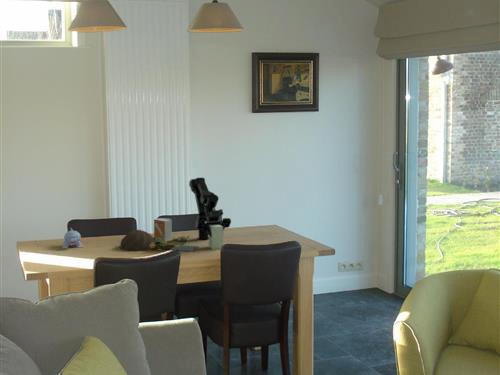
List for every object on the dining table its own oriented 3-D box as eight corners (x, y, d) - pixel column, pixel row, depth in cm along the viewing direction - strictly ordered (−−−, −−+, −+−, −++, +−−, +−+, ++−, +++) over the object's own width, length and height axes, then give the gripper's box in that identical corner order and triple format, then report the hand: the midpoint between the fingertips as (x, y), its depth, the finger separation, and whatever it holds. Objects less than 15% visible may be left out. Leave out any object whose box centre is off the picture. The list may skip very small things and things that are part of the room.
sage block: (209, 246, 402) (209, 225, 400) (219, 246, 404) (219, 224, 402) (212, 249, 396) (212, 227, 395) (222, 248, 398) (222, 226, 397)
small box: (153, 242, 414) (153, 219, 412) (161, 240, 419) (161, 217, 417) (164, 243, 409) (164, 220, 408) (172, 241, 415) (171, 219, 413)
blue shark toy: (63, 250, 391) (62, 232, 389) (61, 244, 405) (61, 227, 404) (83, 249, 394) (83, 231, 393) (81, 243, 408) (81, 227, 407)
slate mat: (176, 246, 403) (176, 244, 403) (197, 247, 401) (197, 245, 401) (170, 250, 392) (170, 249, 391) (191, 251, 389) (191, 250, 389)
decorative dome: (116, 245, 404) (115, 227, 403) (150, 243, 412) (150, 225, 411) (124, 252, 386) (124, 234, 385) (160, 249, 394) (160, 231, 393)
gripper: (197, 205, 398) (203, 228, 389) (230, 203, 404) (236, 226, 395) (193, 217, 406) (199, 240, 397) (225, 215, 412) (231, 238, 403)
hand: (216, 236), depth 398 cm, fingers closed on sage block, 6 cm apart
